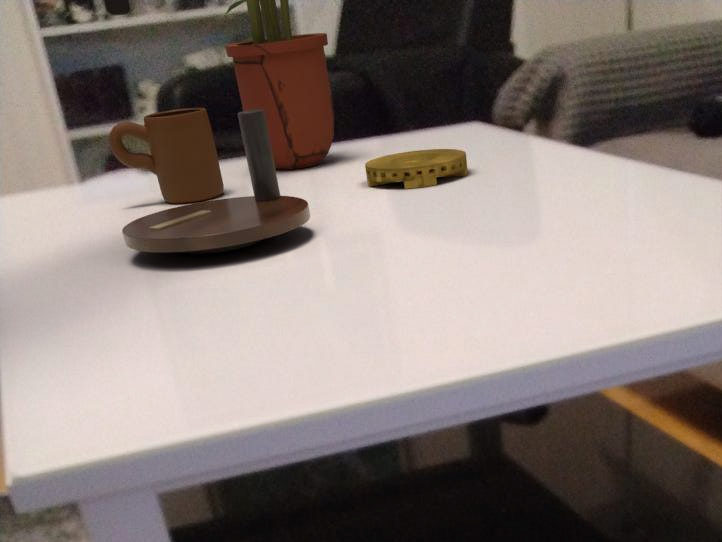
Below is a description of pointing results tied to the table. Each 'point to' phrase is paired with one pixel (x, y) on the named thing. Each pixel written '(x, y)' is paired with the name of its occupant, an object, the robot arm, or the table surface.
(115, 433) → the table surface
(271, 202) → the stand with round base
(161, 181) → the mug
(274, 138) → the potted plant
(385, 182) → the yellow flat disc
